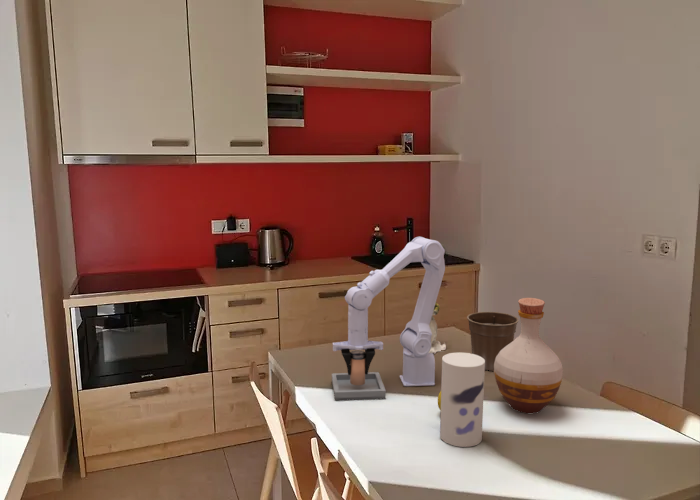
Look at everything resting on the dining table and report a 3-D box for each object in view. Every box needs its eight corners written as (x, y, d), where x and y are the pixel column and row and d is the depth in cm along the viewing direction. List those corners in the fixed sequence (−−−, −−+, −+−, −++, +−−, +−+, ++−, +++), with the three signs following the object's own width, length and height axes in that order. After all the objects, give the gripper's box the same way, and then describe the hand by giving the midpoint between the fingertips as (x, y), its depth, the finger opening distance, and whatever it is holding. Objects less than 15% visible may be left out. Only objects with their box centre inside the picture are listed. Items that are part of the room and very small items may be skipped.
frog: (403, 348, 203) (404, 299, 200) (425, 341, 212) (426, 293, 209) (429, 356, 195) (430, 305, 192) (450, 348, 204) (452, 298, 201)
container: (457, 451, 131) (459, 368, 128) (431, 433, 140) (433, 355, 136) (490, 441, 135) (494, 361, 132) (463, 424, 144) (466, 349, 141)
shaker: (364, 379, 168) (364, 350, 167) (366, 385, 164) (367, 355, 162) (348, 379, 167) (349, 350, 166) (351, 385, 163) (351, 356, 161)
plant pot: (460, 369, 183) (462, 321, 180) (470, 354, 197) (472, 309, 195) (512, 377, 176) (515, 327, 174) (518, 360, 191) (521, 314, 189)
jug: (495, 388, 167) (500, 289, 163) (560, 396, 161) (566, 294, 157) (489, 416, 149) (493, 305, 144) (561, 426, 143) (568, 311, 139)
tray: (378, 379, 174) (378, 372, 173) (385, 399, 160) (385, 390, 159) (331, 381, 172) (331, 373, 172) (334, 400, 158) (334, 392, 158)
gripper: (333, 333, 158) (333, 379, 161) (384, 331, 160) (384, 377, 162) (332, 326, 165) (332, 370, 168) (381, 324, 167) (380, 368, 169)
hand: (357, 373), depth 165 cm, fingers closed on shaker, 4 cm apart
